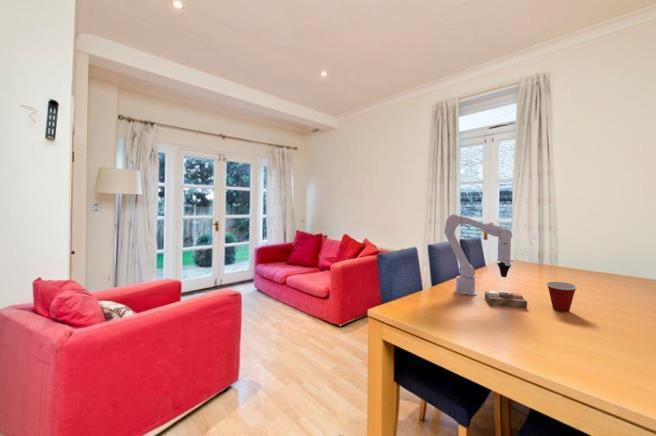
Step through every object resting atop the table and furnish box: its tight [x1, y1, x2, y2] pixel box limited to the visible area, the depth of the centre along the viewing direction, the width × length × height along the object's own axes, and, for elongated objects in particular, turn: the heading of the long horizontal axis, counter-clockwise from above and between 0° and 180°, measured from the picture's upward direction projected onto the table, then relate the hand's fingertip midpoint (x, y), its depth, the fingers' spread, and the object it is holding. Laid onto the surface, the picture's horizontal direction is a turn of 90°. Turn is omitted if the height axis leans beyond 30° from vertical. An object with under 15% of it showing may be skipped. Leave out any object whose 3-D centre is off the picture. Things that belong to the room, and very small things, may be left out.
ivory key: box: [487, 290, 500, 297], centre depth 136 cm, size 4×4×3 cm
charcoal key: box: [498, 291, 511, 298], centre depth 134 cm, size 4×4×3 cm
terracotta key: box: [509, 292, 524, 299], centre depth 133 cm, size 4×4×3 cm
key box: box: [484, 291, 528, 310], centre depth 134 cm, size 15×11×4 cm
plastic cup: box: [546, 281, 578, 313], centre depth 125 cm, size 11×11×12 cm
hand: (503, 276), depth 145 cm, fingers closed
